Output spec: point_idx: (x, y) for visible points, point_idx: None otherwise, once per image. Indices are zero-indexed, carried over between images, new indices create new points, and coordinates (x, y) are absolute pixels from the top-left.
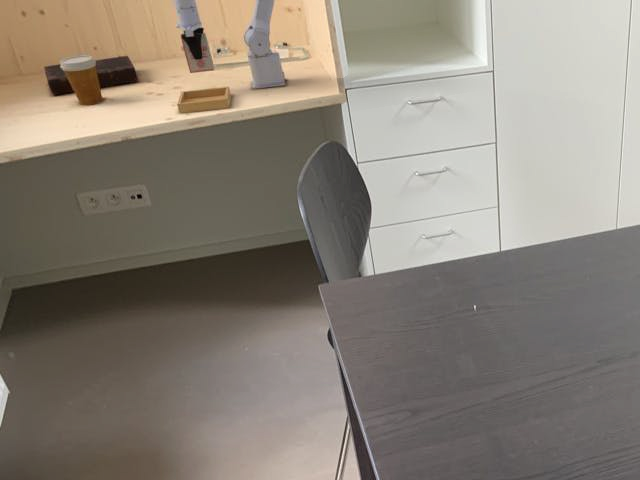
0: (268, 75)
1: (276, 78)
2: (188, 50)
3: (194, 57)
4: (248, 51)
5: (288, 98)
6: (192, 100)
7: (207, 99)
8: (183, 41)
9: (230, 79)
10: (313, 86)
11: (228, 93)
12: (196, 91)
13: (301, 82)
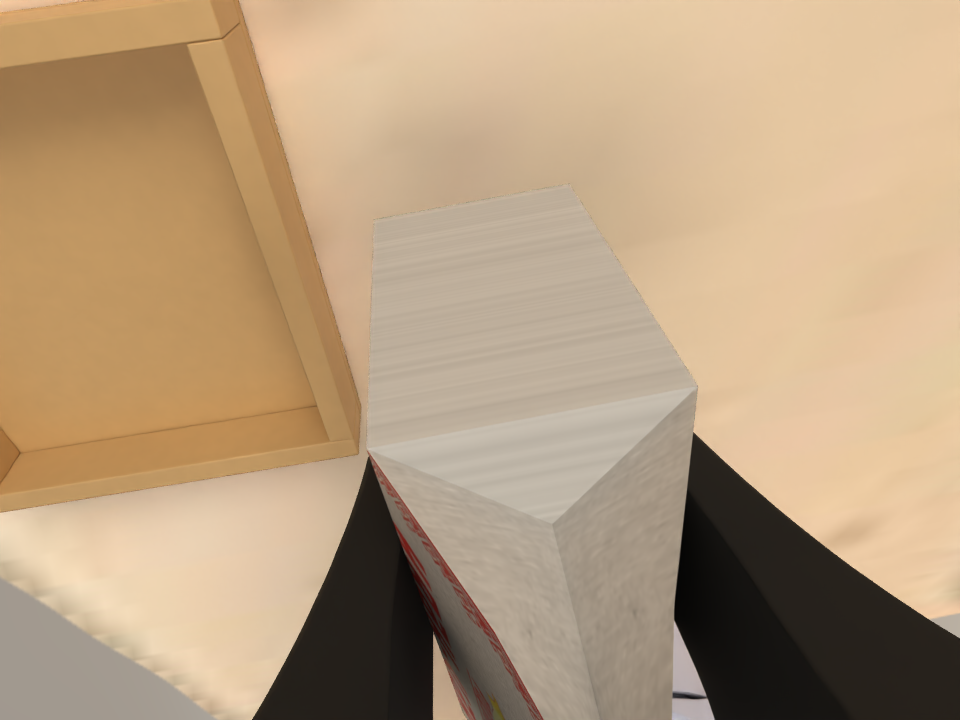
0: None
1: None
2: (400, 529)
3: (361, 487)
4: (680, 717)
5: (255, 662)
6: (146, 130)
7: (190, 277)
8: (516, 678)
9: (831, 309)
10: (453, 694)
11: (189, 475)
12: (243, 197)
13: None
